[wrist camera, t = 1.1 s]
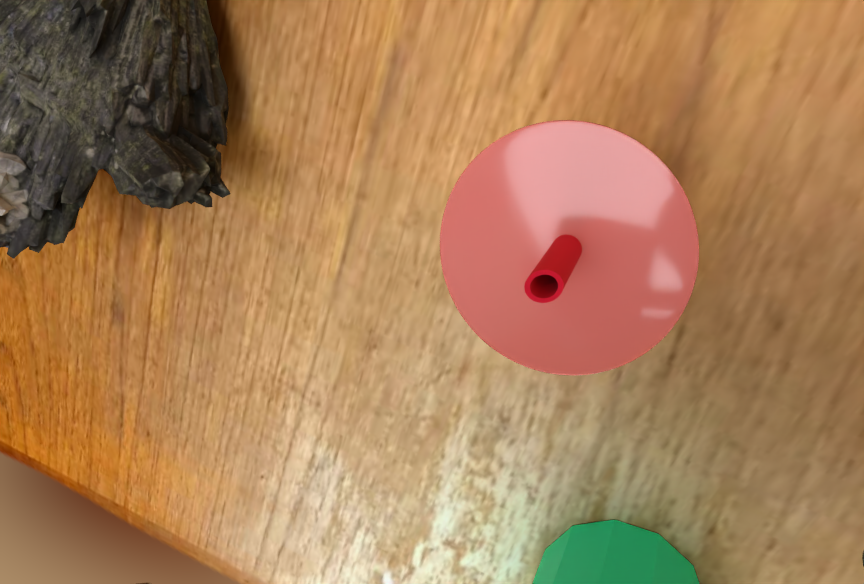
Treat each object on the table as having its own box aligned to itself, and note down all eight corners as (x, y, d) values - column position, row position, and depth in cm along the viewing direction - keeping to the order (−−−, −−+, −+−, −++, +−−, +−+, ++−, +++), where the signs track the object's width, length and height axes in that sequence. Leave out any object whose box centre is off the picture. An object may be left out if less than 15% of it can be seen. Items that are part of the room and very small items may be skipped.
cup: (746, 179, 22) (770, 264, 11) (632, 312, 24) (557, 494, 13) (600, 76, 22) (486, 58, 12) (503, 214, 25) (331, 308, 14)
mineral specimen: (300, 180, 21) (-141, 156, 15) (185, 284, 31) (-103, 292, 26) (244, -258, 24) (-152, -415, 18) (155, -28, 34) (-113, -82, 28)
